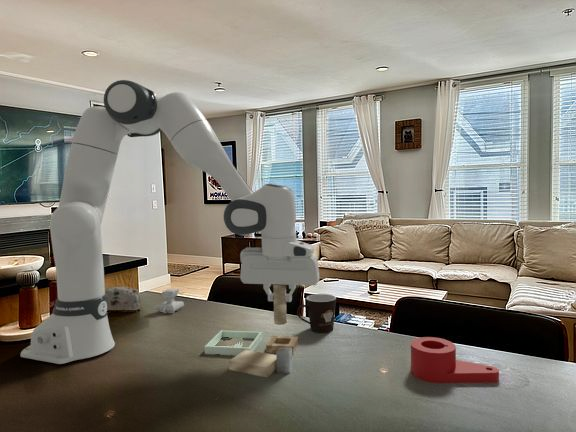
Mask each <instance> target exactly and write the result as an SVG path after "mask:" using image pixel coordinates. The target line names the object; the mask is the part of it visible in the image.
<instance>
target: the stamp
mask: <svg viewBox="0 0 576 432" xmlns="http://www.w3.org/2000/svg"><path fill="white" fill-rule="evenodd" d="M179 290H180V289H178V288H167V289H164V290H162V292H161V294H162V298H164V299H166V301H164V302H162V303H160V304H158V305H157V307H156V310H157V311H158V312H159V311H163V314H166V313H165V312H175V311H176V310H178V309H180V308H182V307H183V308H184V306H185V303H184V301H182V300H181V301H180V300H175V297H177V296H178V294H179V292H180V291H179ZM183 308H182V309H183ZM175 313H176V312H175Z"/></svg>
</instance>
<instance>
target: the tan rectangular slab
mask: <svg viewBox="0 0 576 432" xmlns="http://www.w3.org/2000/svg"><path fill="white" fill-rule="evenodd" d="M228 365H229V366H228V369H229V371H234V372H239V373H243V374H248V375H253V376H257V377H262V378H268V377H270V376H271V375H272V374H273V373H274V372H275V371H277V357H276V354H274V353H266V352H260V351H255V350H254V351H250V350H244V351H243V352H241V353H240V354H238V355H237V356H234V357H232V358H230V359H229V360H228Z"/></svg>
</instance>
